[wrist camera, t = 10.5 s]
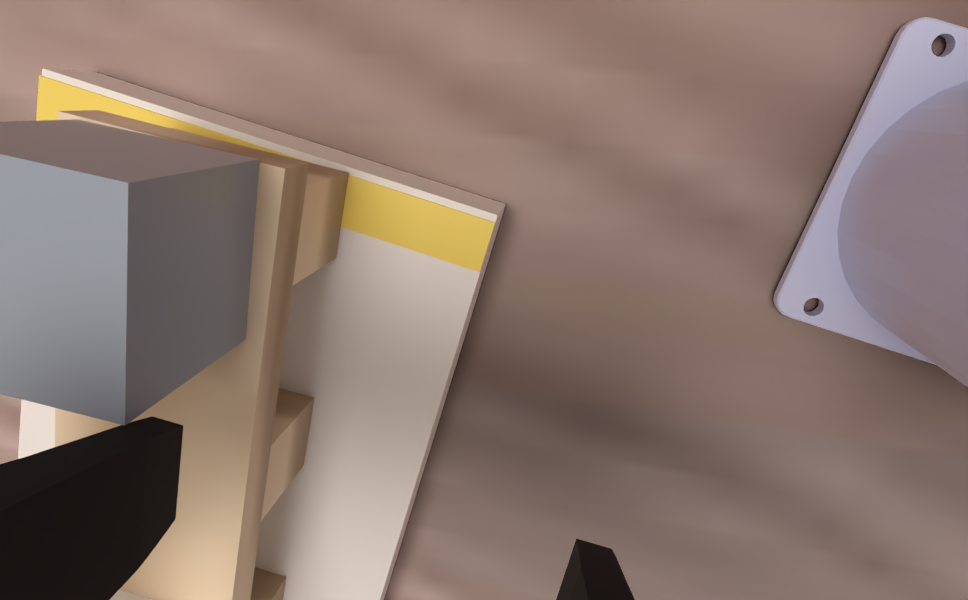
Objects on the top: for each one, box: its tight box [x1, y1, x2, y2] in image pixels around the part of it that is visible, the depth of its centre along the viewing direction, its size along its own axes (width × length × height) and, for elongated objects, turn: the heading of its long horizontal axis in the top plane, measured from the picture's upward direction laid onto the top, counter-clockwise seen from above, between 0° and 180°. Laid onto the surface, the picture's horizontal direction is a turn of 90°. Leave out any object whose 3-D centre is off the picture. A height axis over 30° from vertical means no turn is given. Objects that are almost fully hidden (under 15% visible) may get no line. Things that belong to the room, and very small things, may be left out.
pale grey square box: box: [0, 119, 260, 426], centre depth 12 cm, size 4×4×4 cm
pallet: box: [55, 110, 349, 600], centre depth 18 cm, size 5×17×4 cm, turn 167°
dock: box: [18, 68, 506, 600], centre depth 21 cm, size 13×17×2 cm
